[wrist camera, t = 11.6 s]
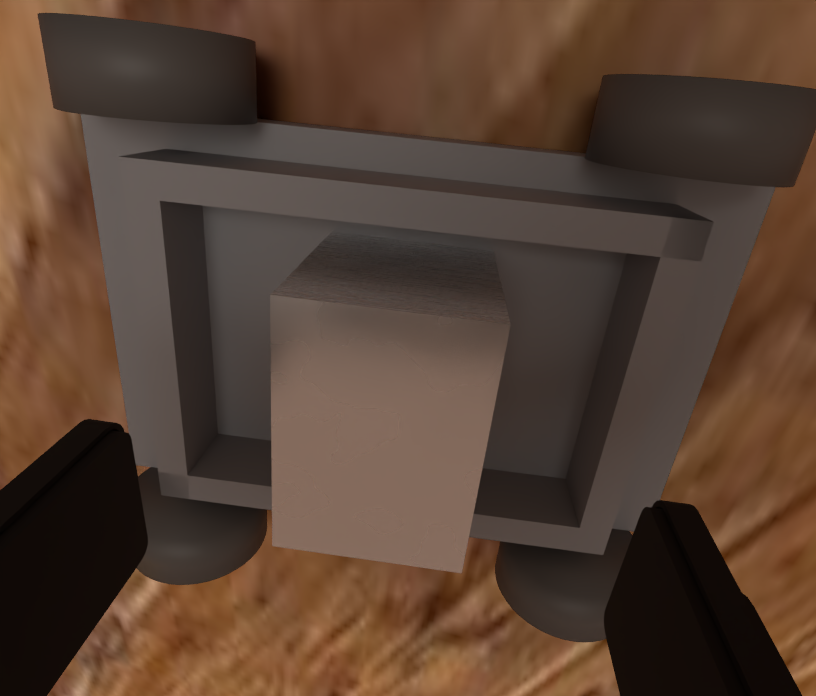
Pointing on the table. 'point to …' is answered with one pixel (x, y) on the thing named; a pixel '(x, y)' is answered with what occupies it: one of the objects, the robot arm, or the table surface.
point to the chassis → (431, 223)
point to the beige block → (383, 398)
